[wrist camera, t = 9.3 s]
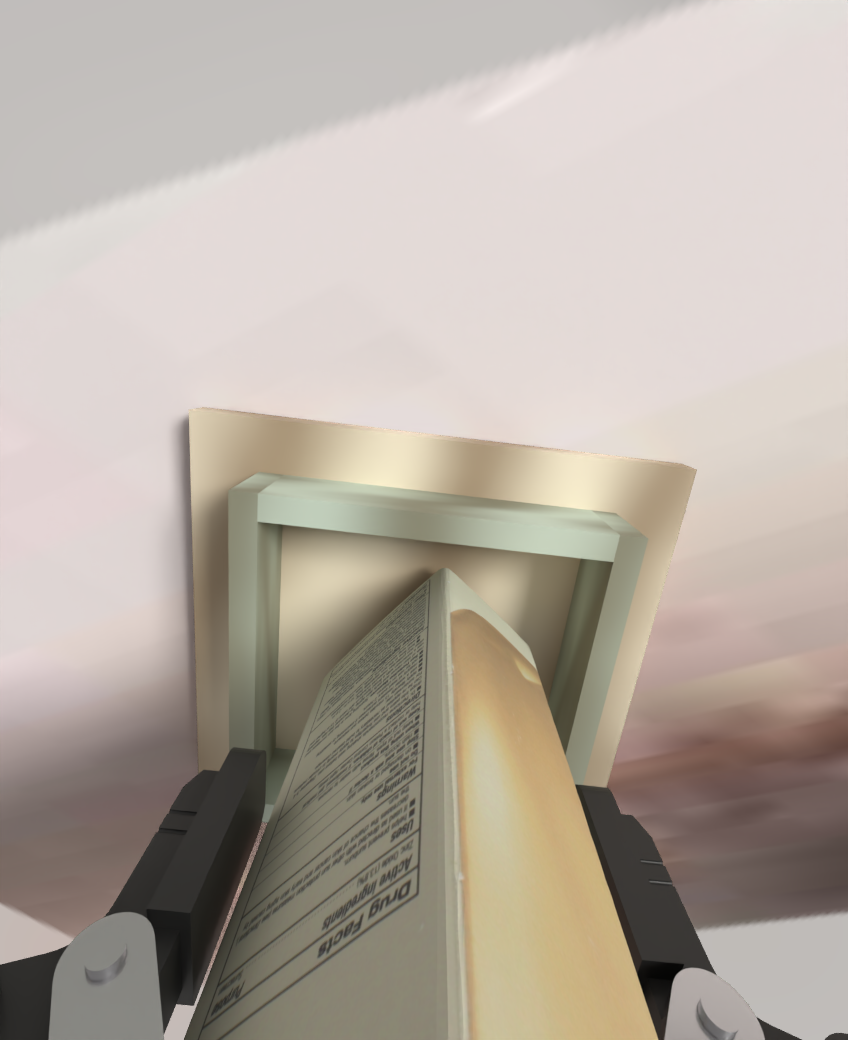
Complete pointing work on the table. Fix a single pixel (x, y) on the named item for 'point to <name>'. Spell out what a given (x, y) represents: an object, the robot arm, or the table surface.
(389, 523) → the socket stand
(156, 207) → the table surface
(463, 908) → the skincare box
